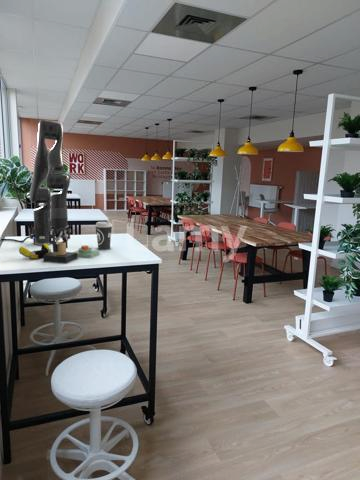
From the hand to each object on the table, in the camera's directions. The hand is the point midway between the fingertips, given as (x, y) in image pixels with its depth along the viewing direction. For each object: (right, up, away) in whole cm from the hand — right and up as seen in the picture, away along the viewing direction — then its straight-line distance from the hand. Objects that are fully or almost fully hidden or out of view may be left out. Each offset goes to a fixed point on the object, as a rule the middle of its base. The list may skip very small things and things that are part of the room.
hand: (60, 250), depth 164 cm
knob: (0, -2, 0) cm, 2 cm away
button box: (+9, -3, +12) cm, 15 cm away
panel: (0, -5, +1) cm, 5 cm away
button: (+9, 0, +11) cm, 14 cm away
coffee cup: (+15, 0, +29) cm, 32 cm away
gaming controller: (-14, -4, +6) cm, 15 cm away
